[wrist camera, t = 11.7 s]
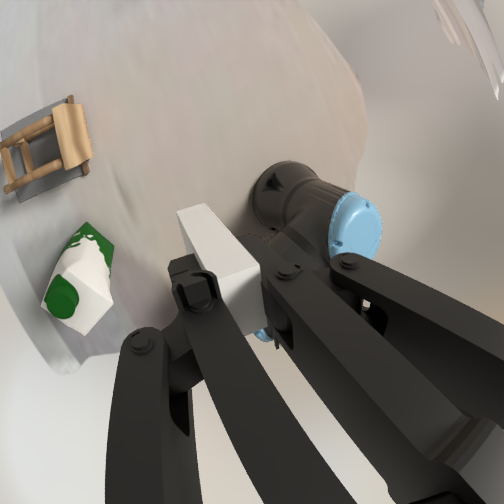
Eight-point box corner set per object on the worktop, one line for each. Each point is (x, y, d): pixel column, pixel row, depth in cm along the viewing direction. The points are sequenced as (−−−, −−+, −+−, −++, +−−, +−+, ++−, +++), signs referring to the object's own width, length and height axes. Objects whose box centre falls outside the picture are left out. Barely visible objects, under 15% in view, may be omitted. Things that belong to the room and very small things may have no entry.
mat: (66, 98, 30) (66, 97, 30) (83, 174, 38) (83, 174, 37) (1, 131, 26) (0, 131, 26) (19, 202, 34) (19, 203, 34)
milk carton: (86, 214, 41) (62, 271, 25) (121, 245, 46) (121, 313, 30) (59, 248, 41) (32, 317, 25) (94, 276, 46) (86, 351, 30)
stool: (62, 103, 24) (-10, 144, 21) (76, 166, 28) (5, 199, 26) (82, 104, 31) (17, 136, 29) (93, 155, 36) (29, 183, 34)
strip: (73, 95, 31) (71, 94, 30) (89, 171, 38) (88, 173, 37) (68, 97, 31) (67, 96, 30) (85, 173, 38) (84, 174, 37)
